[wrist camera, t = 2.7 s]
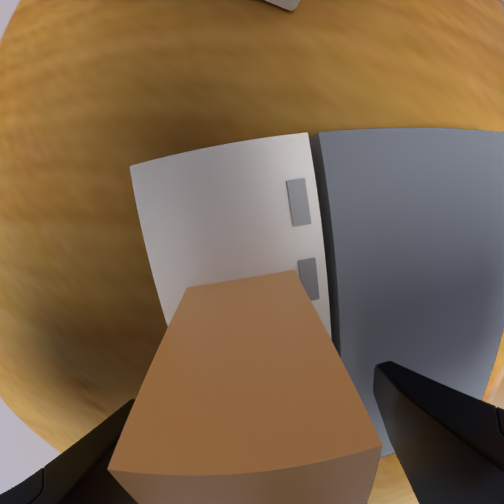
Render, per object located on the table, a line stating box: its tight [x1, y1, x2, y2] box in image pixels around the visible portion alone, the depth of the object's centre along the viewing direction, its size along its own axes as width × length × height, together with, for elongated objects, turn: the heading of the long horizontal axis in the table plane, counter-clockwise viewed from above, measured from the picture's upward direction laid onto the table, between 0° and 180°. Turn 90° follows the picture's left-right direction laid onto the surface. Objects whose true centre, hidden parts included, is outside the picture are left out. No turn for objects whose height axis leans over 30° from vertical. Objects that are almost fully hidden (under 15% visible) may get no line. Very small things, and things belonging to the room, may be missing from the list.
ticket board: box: [309, 128, 504, 458], centre depth 8 cm, size 12×7×2 cm, turn 9°
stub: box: [107, 132, 383, 504], centre depth 6 cm, size 12×4×6 cm, turn 9°
